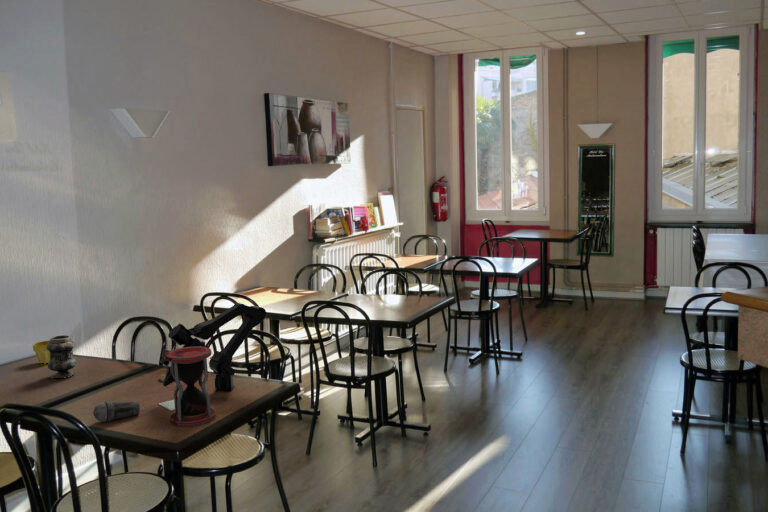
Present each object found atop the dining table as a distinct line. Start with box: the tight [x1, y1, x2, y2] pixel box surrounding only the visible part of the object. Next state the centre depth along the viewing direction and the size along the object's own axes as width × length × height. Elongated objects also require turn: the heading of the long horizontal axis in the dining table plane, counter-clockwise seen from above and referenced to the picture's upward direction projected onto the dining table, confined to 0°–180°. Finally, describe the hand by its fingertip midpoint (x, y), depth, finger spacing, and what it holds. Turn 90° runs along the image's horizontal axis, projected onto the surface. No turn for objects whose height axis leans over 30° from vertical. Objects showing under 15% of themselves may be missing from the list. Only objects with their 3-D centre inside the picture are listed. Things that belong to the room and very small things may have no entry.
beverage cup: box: [79, 401, 141, 423], centre depth 261 cm, size 7×7×20 cm
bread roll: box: [159, 370, 181, 383], centre depth 312 cm, size 11×11×5 cm
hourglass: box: [165, 346, 217, 427], centre depth 258 cm, size 16×16×25 cm
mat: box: [158, 399, 175, 411], centre depth 277 cm, size 11×11×1 cm
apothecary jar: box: [46, 334, 78, 379], centre depth 321 cm, size 12×12×18 cm
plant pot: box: [32, 339, 50, 364], centre depth 346 cm, size 10×10×10 cm
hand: (164, 385), depth 275 cm, fingers closed
